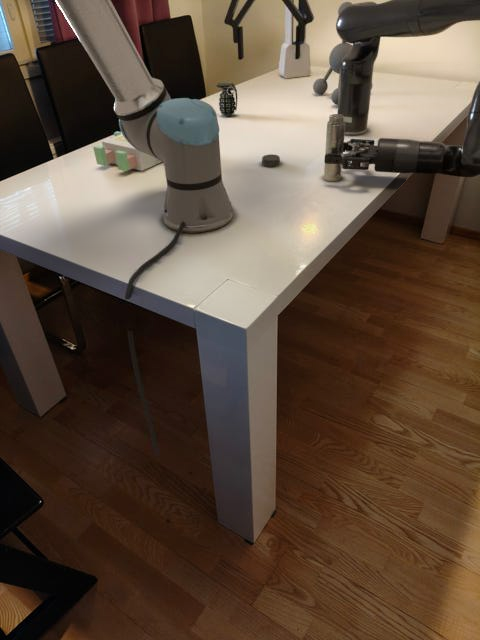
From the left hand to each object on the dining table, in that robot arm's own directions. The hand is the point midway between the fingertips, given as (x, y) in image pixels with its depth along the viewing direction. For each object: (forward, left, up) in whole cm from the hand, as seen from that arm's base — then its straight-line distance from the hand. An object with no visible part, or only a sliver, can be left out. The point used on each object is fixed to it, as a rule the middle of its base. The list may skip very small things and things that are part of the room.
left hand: (269, 58), depth 115 cm
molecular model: (+71, +3, -26) cm, 76 cm away
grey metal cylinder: (-3, -19, -26) cm, 32 cm away
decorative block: (-8, +36, -26) cm, 45 cm away
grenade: (+37, +34, -26) cm, 56 cm away
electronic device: (+100, +36, -26) cm, 110 cm away
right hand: (-3, -17, -19) cm, 26 cm away
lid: (0, 0, -24) cm, 24 cm away
